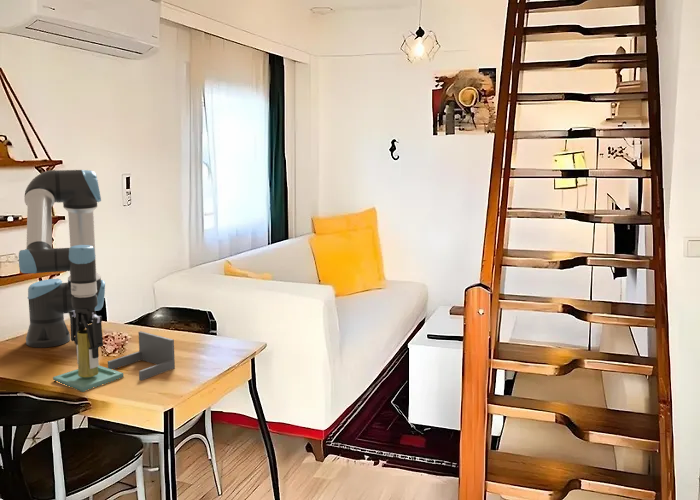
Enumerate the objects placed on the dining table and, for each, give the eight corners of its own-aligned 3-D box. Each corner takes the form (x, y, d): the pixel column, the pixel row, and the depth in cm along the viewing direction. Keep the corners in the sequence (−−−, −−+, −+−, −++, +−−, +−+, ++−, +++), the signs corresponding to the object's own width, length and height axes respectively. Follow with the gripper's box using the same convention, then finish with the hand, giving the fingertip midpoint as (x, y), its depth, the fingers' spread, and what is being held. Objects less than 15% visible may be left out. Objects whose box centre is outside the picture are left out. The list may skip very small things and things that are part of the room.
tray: (53, 381, 207) (53, 377, 207) (94, 368, 220) (94, 363, 220) (82, 391, 199) (82, 387, 199) (123, 377, 212) (123, 373, 212)
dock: (108, 370, 218) (106, 341, 217) (141, 358, 230) (140, 331, 228) (141, 380, 209) (140, 350, 208) (174, 368, 221) (173, 339, 219)
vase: (83, 370, 212) (80, 328, 210) (101, 371, 212) (99, 328, 210) (74, 377, 206) (72, 334, 204) (93, 378, 206) (91, 334, 204)
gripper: (55, 292, 207) (59, 362, 211) (92, 301, 197) (96, 374, 201) (76, 288, 213) (80, 356, 217) (113, 296, 203) (116, 367, 207)
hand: (88, 365), depth 209 cm, fingers closed on vase, 6 cm apart
